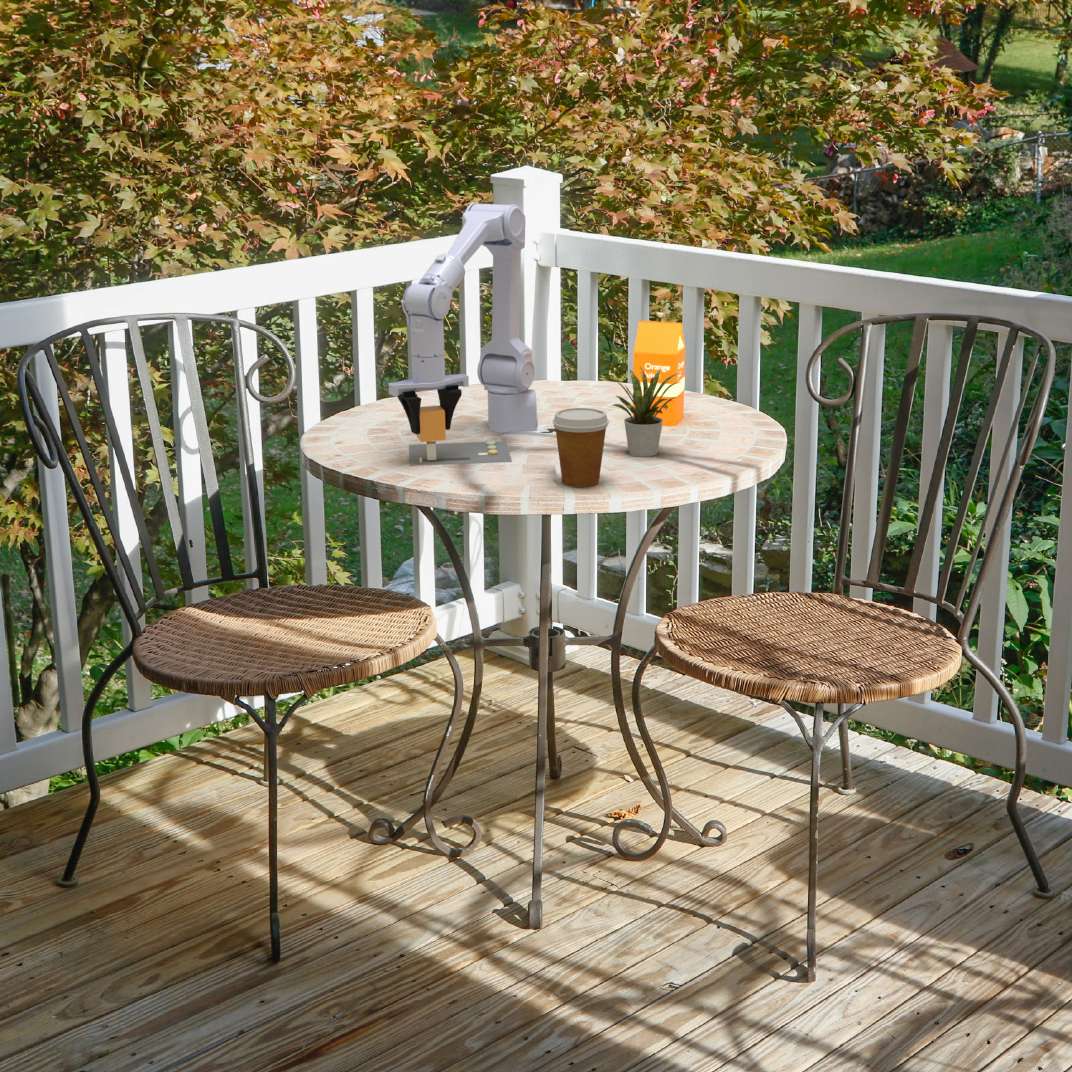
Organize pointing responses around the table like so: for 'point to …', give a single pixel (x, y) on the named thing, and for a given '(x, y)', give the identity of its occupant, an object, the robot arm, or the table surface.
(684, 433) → the table surface
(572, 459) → the disposable coffee cup
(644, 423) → the house plant
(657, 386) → the orange juice
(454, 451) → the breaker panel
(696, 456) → the table surface
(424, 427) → the cap
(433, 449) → the switch
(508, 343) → the robot arm
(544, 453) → the table surface
